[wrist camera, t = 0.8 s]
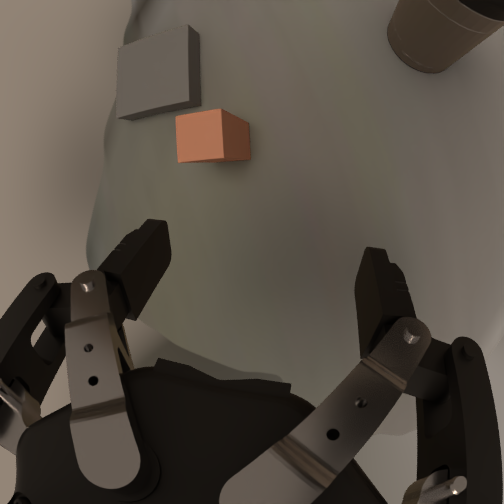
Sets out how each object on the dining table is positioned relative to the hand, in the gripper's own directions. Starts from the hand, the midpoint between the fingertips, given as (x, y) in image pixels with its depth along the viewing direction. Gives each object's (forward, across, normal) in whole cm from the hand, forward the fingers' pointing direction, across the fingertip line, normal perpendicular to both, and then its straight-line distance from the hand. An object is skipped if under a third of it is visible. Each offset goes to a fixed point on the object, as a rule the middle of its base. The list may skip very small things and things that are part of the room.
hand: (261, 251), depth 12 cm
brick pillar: (+26, +7, +3) cm, 27 cm away
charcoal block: (+30, +18, -6) cm, 35 cm away
